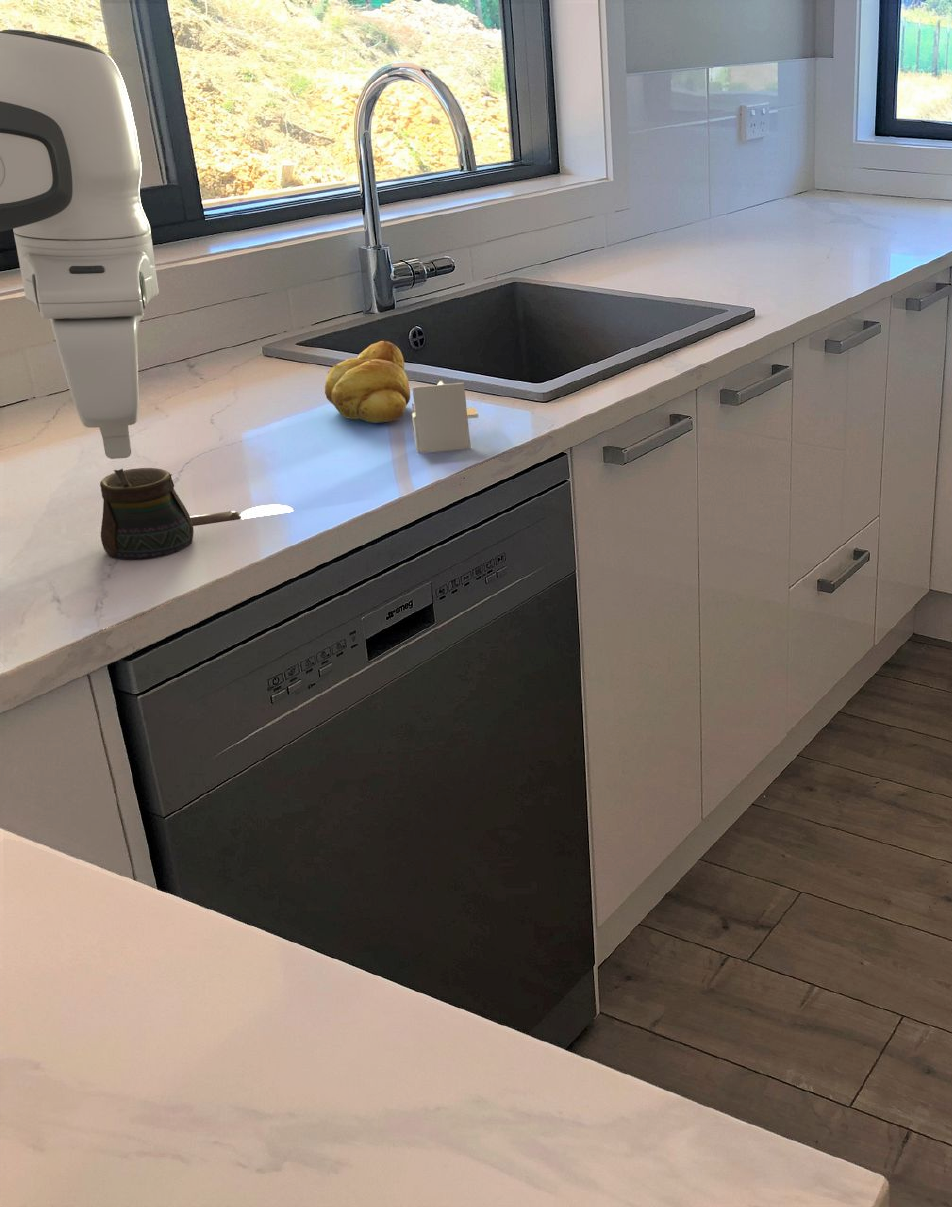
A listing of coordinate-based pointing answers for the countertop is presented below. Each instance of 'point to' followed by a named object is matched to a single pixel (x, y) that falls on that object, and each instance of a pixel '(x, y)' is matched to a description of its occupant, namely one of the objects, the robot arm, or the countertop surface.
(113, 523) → the mate gourd
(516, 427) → the countertop surface
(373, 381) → the bread roll
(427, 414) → the architectural model
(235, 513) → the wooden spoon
